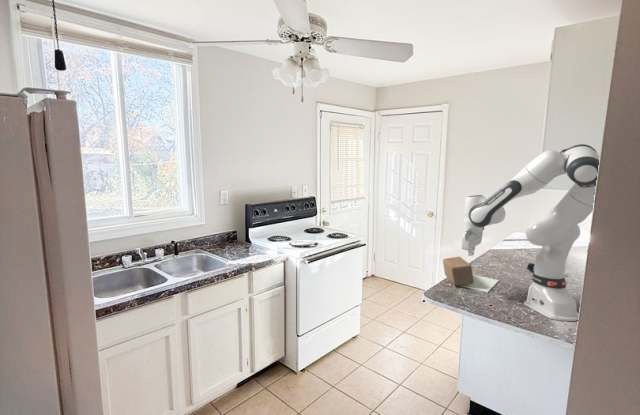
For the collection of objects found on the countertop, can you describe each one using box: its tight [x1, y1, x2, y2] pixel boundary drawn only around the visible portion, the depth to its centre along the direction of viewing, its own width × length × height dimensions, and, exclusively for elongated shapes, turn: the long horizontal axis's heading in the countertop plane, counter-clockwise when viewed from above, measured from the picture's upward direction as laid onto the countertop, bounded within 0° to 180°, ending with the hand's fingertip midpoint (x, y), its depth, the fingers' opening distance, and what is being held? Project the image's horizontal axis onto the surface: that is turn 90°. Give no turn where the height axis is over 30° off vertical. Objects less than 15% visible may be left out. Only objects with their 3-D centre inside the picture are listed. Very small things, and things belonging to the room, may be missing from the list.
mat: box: [457, 274, 500, 293], centre depth 179 cm, size 22×16×1 cm
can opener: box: [526, 262, 535, 273], centre depth 195 cm, size 18×7×6 cm, turn 56°
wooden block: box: [442, 256, 474, 287], centre depth 181 cm, size 10×10×20 cm
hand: (470, 255), depth 166 cm, fingers closed
